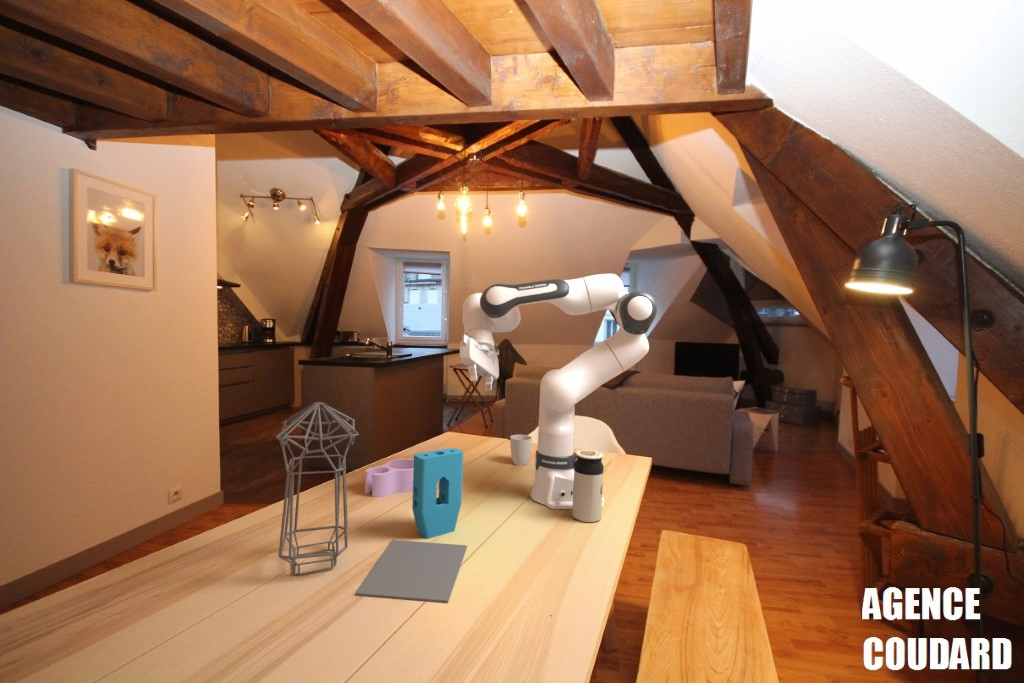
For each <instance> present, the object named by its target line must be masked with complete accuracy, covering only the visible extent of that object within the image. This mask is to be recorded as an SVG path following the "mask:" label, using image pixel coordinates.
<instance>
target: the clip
mask: <svg viewBox="0 0 1024 683" xmlns="http://www.w3.org/2000/svg"><path fill="white" fill-rule="evenodd" d="M413 470H414V456H413V457H412V458H411V457H410V458H406V457H404V458H396V459H391V460H389V461H386V462H385V463H383V464H382V465H376V466H375V465H374V466H371V467H369V468H366V469H365V480H364V481H365V484H364V485H365V486H364V494H365V495H366V494H367V495H368V494H370V493H371V498H384V497H389V496H391V495H392V494H397V493H410V492H413Z"/></svg>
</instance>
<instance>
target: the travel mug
mask: <svg viewBox="0 0 1024 683" xmlns="http://www.w3.org/2000/svg"><path fill="white" fill-rule="evenodd" d="M575 453H576V455H577V460H576V462H575V466H574V487H573V508H572V509H571V510H572V513H571V516H572V517H573V518H574V519H576V520H578V521H580V522H583V523H595V522H598V521H600V520H601V518H602V508H603V507H602V495H603V486H604V463H603V462H602V460H603V457H604V454H603V453H602V452H600V451H597V450H594V449H593V450H592V449H582V450H581V449H579V450H577V451H576V452H575Z"/></svg>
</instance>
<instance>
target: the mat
mask: <svg viewBox="0 0 1024 683" xmlns="http://www.w3.org/2000/svg"><path fill="white" fill-rule="evenodd" d="M467 549H468V545H466V544H455V543H454V544H453V543H441V542H428V541H427V542H425V541H424V542H423V541H414V540H412V541H411V540H400V539H392V540H391V541H390V543H389V544H388V546H387V547H386V549H385V551H384V552H383V553H382V555H381V556H380V557H379V559H378V561H376V563H375V564H374V565H373V567H372V569H371V570H370V571H369V573H368V575H367V576H366V578H365V579H364V580H363V581H362V583H361V585H360V586H359V588H358V589H357V590H356V592H355V596H364V597H373V598H374V597H375V598H384V599H398V600H409V601H411V600H412V601H422V602H423V601H425V602H436V603H445V604H446V603H449V601H450V597H451V595H452V592H453V590H454V587H455V583H456V580H457V577H458V575H459V571H460V568H461V566H462V563H463V560H464V557H465V554H466V552H467Z"/></svg>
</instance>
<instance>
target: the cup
mask: <svg viewBox="0 0 1024 683" xmlns="http://www.w3.org/2000/svg"><path fill="white" fill-rule="evenodd" d="M509 438H510V439H509V441H510V443H509V444H510V445H509V446H510V455H511V459H512V463H513V464H514V465H515V466H526V465H527V464H528V461H529V459H530V453H531V449H532V440H533V439H532V438H533V437H532V436H531V435H527V434H513V435H510V436H509Z"/></svg>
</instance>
